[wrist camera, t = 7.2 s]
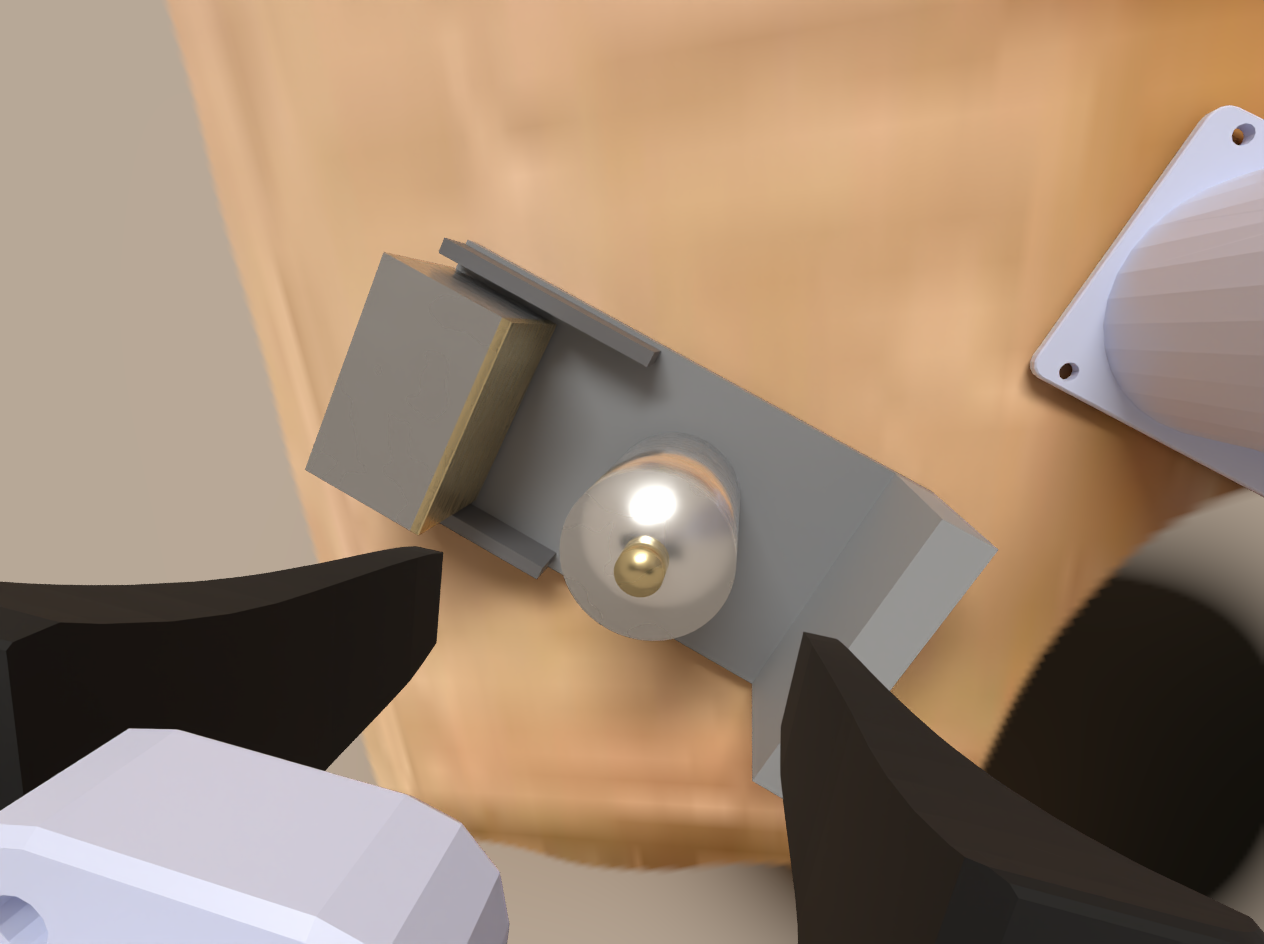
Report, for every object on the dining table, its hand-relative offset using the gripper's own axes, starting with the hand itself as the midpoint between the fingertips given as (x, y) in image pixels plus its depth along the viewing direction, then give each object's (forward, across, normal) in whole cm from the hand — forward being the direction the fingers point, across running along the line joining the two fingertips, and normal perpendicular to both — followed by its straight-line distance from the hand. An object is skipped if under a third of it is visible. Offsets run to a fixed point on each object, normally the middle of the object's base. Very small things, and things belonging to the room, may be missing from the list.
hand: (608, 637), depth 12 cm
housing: (+10, 0, 0) cm, 10 cm away
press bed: (+10, +1, 0) cm, 11 cm away
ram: (+10, +8, -3) cm, 13 cm away
